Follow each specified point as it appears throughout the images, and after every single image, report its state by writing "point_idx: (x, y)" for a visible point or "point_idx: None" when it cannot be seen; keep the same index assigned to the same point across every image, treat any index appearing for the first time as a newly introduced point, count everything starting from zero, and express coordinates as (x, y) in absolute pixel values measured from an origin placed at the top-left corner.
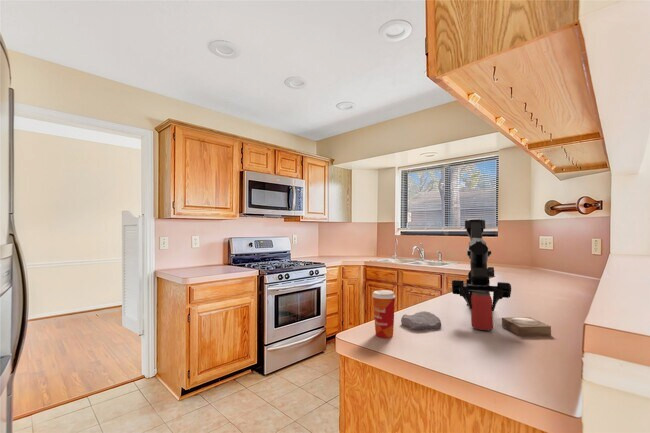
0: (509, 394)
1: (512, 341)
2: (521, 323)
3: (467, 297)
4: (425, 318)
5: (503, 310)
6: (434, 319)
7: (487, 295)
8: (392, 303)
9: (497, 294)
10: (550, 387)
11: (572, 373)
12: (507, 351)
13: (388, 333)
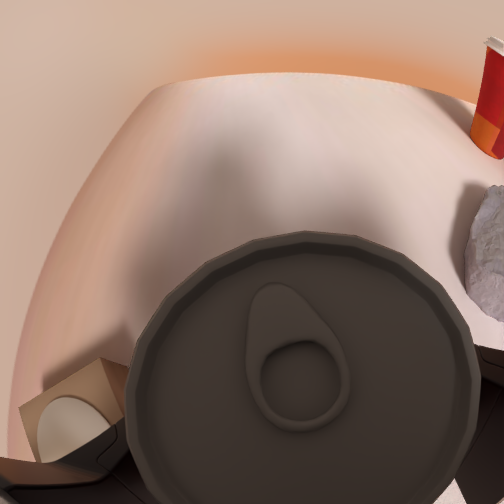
0: (209, 77)
1: (161, 282)
2: (87, 410)
3: (479, 352)
4: None
5: None
6: (495, 250)
7: (175, 298)
8: (488, 60)
9: (54, 463)
10: (153, 109)
11: (98, 163)
12: (190, 184)
13: (472, 123)
